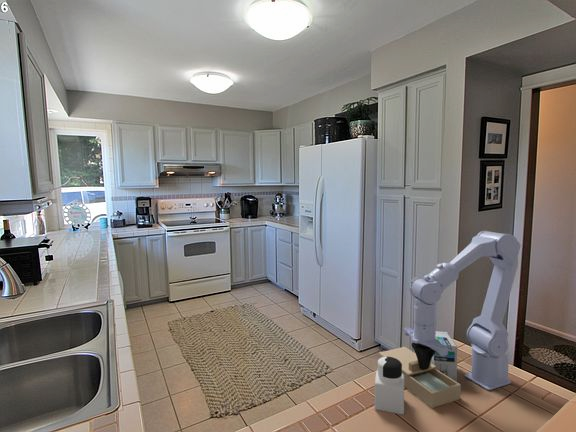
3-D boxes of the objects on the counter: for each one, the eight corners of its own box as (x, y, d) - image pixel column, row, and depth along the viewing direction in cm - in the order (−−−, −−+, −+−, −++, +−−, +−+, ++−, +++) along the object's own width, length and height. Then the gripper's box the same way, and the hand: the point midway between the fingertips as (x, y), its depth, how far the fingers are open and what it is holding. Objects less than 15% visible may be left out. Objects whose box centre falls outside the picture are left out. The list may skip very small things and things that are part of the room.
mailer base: (424, 374, 99) (424, 361, 99) (460, 398, 87) (460, 384, 87) (397, 381, 96) (398, 368, 95) (431, 408, 83) (432, 393, 83)
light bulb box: (457, 382, 95) (458, 346, 94) (433, 379, 96) (433, 344, 96) (447, 363, 105) (447, 331, 105) (425, 361, 107) (425, 329, 106)
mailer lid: (404, 348, 107) (404, 340, 107) (436, 368, 95) (436, 359, 95) (378, 354, 104) (378, 346, 103) (408, 375, 91) (408, 366, 91)
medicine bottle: (403, 398, 88) (403, 355, 87) (403, 415, 81) (404, 369, 80) (376, 393, 90) (376, 351, 89) (374, 409, 83) (374, 364, 82)
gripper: (395, 315, 97) (395, 359, 98) (433, 335, 83) (432, 385, 84) (414, 312, 99) (414, 355, 100) (454, 330, 86) (453, 379, 87)
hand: (424, 368), depth 92 cm, fingers closed
